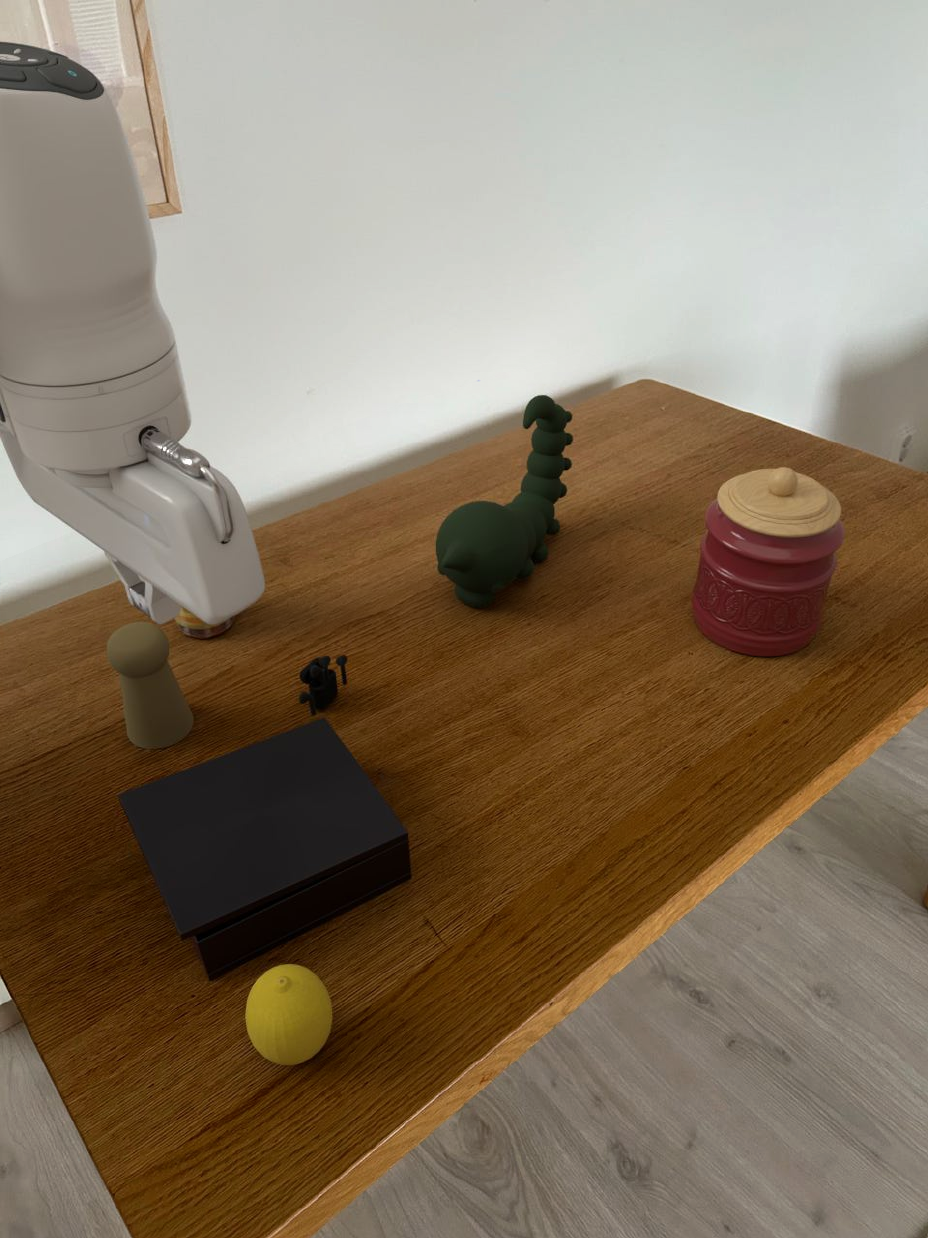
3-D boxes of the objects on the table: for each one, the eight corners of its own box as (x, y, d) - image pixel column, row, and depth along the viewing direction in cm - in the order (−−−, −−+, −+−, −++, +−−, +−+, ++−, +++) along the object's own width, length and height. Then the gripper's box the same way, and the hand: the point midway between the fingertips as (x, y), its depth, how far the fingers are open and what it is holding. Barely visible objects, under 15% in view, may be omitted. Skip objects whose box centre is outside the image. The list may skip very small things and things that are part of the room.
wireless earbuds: (309, 728, 90) (302, 687, 87) (287, 718, 91) (280, 678, 88) (354, 683, 95) (349, 643, 91) (333, 674, 96) (327, 634, 92)
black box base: (209, 982, 70) (197, 943, 67) (146, 843, 80) (133, 804, 77) (412, 878, 77) (408, 839, 74) (331, 762, 86) (325, 723, 83)
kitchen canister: (719, 668, 95) (750, 515, 84) (670, 590, 105) (692, 444, 94) (842, 649, 97) (887, 496, 86) (783, 574, 107) (816, 429, 96)
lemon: (275, 1103, 63) (257, 1039, 58) (243, 1034, 67) (223, 968, 62) (352, 1058, 65) (340, 993, 60) (316, 994, 69) (303, 927, 64)
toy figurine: (513, 523, 119) (402, 621, 101) (523, 372, 109) (401, 451, 90) (584, 544, 115) (482, 649, 97) (601, 390, 105) (491, 476, 87)
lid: (181, 942, 66) (180, 935, 66) (119, 801, 76) (117, 794, 75) (408, 839, 74) (408, 832, 73) (325, 723, 83) (324, 716, 83)
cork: (132, 757, 87) (102, 664, 80) (122, 714, 92) (92, 622, 85) (200, 736, 89) (176, 644, 82) (186, 695, 94) (162, 604, 87)
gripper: (272, 443, 47) (306, 659, 56) (57, 333, 58) (113, 528, 67) (161, 494, 44) (215, 717, 52) (-46, 367, 55) (27, 569, 63)
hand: (156, 610), depth 60 cm, fingers closed
